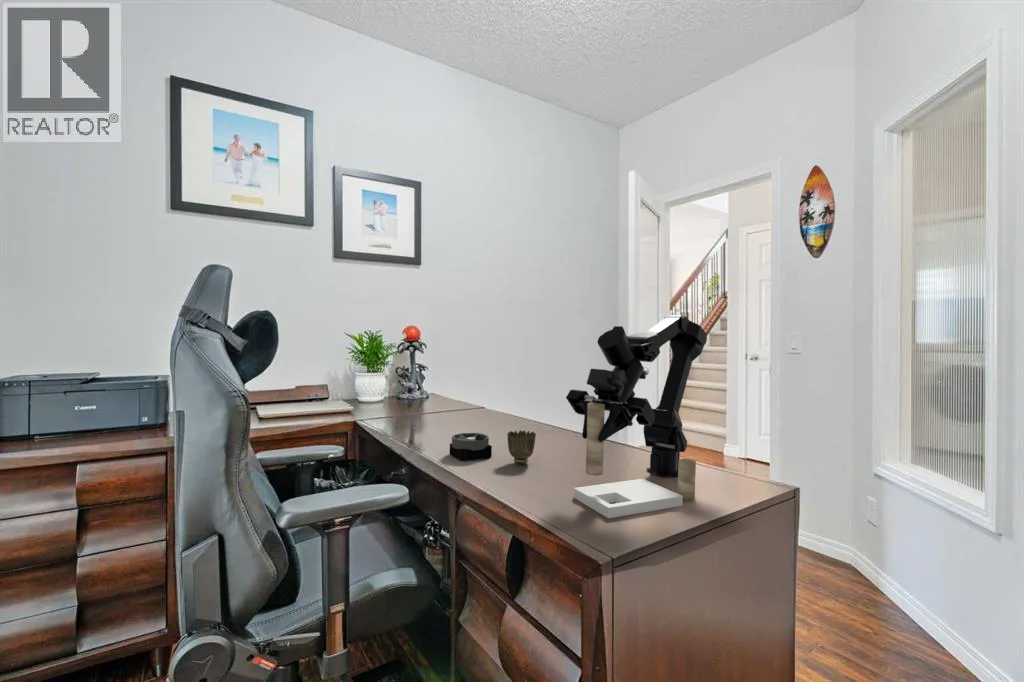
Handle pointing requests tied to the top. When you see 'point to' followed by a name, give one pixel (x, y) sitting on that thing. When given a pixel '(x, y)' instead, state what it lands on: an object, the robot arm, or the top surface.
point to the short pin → (686, 479)
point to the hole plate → (627, 497)
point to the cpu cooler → (470, 446)
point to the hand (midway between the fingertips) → (591, 439)
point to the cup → (521, 446)
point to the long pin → (594, 439)
